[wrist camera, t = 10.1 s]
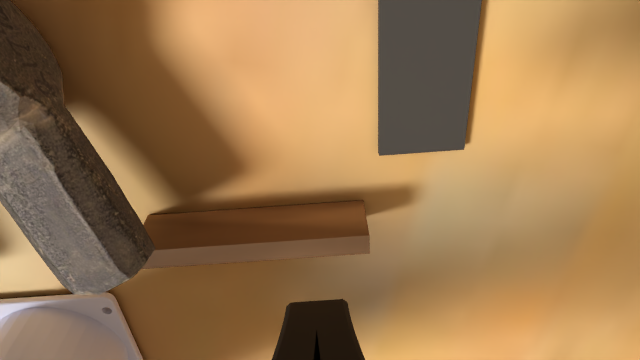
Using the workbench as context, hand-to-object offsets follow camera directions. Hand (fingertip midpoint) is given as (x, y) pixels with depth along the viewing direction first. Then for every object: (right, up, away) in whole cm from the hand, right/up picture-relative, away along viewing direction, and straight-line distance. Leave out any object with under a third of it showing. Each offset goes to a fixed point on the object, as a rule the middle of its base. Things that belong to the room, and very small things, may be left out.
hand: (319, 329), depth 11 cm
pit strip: (+4, +9, +6) cm, 12 cm away
